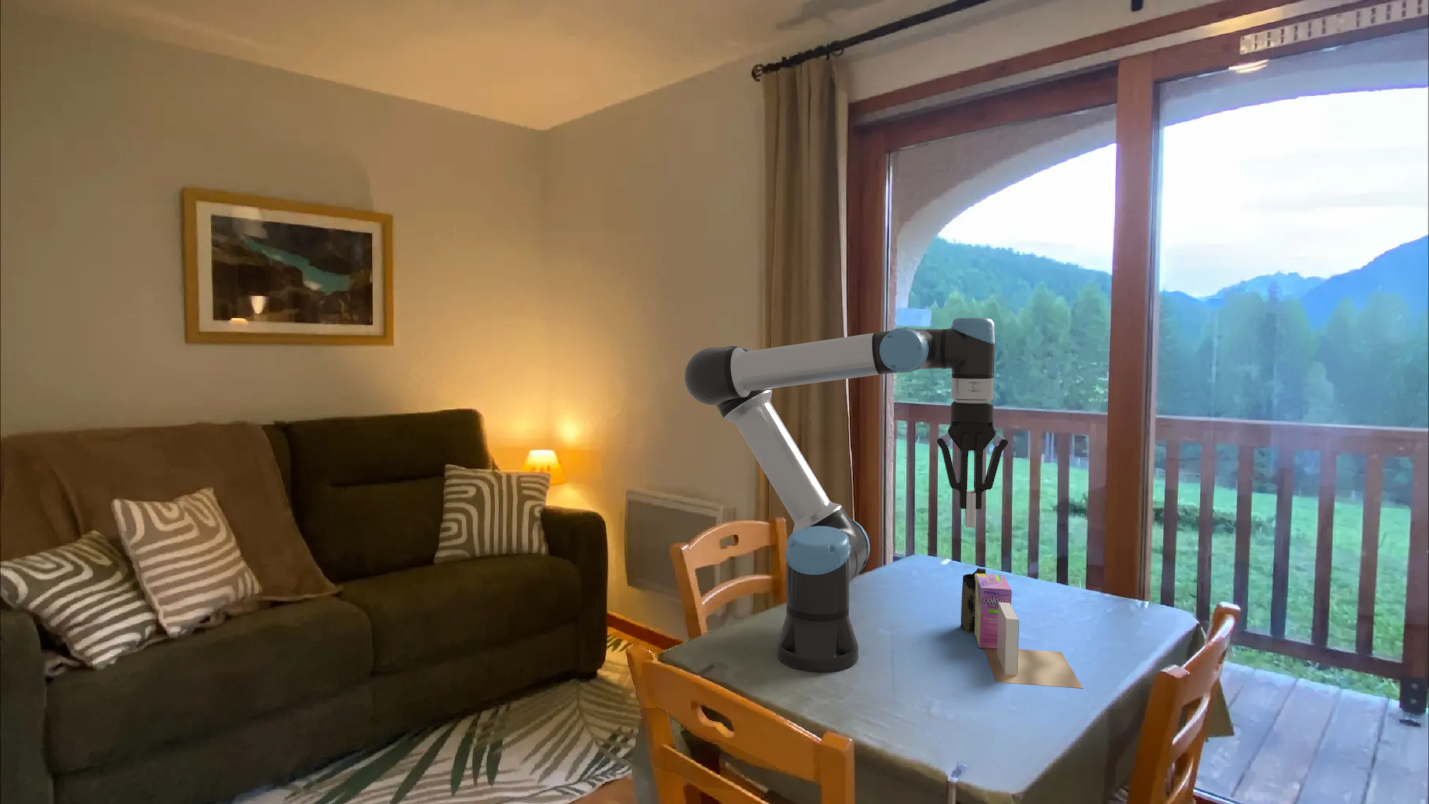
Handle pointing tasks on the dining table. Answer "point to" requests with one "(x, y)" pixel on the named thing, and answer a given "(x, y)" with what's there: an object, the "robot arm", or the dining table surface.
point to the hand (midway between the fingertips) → (969, 525)
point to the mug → (969, 601)
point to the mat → (1036, 669)
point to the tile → (1008, 638)
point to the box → (989, 607)
